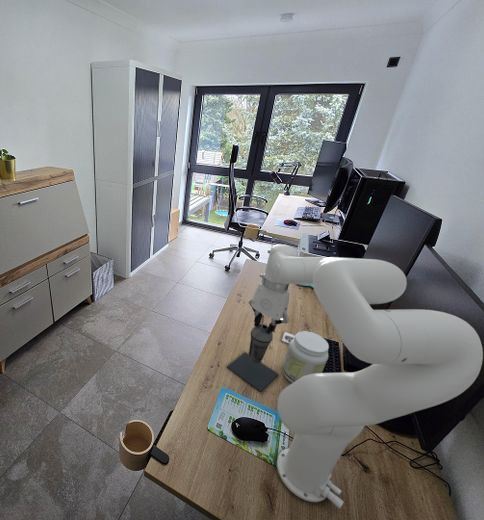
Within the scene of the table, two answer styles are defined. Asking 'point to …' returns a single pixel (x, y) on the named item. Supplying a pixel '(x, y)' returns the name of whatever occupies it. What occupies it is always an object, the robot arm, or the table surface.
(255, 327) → the beverage cup
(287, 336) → the vintage car picture box
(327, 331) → the table surface
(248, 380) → the mat
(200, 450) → the table surface
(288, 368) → the supplement tub
